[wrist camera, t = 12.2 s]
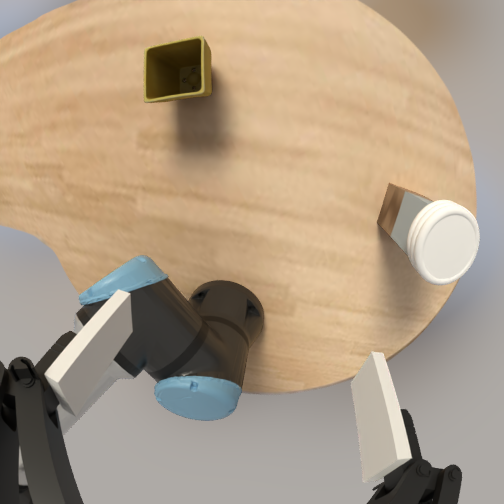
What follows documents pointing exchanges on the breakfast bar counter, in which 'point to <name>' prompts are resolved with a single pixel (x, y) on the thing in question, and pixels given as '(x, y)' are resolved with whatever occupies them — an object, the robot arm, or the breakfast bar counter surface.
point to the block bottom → (392, 206)
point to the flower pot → (177, 70)
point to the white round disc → (443, 242)
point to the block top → (407, 218)
